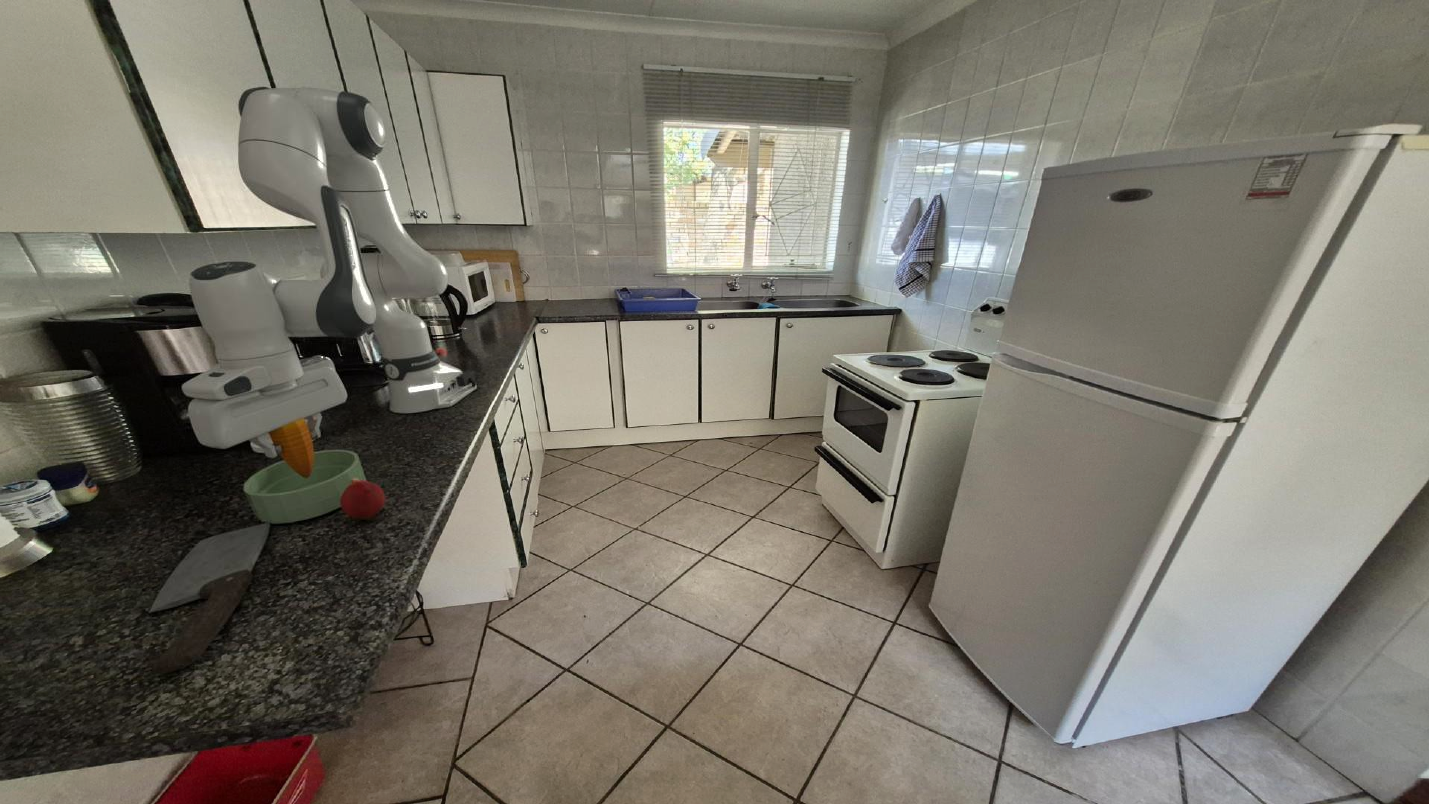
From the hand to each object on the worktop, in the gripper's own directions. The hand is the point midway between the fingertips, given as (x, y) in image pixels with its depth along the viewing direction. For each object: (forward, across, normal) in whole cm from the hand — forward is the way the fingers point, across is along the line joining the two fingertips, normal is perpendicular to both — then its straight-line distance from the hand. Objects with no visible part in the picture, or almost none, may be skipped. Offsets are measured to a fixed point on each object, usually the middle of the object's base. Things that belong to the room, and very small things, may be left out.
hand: (294, 447), depth 76 cm
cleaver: (+11, +20, +8) cm, 24 cm away
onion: (+11, +2, +14) cm, 18 cm away
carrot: (+6, 0, 0) cm, 6 cm away
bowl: (+11, 0, 0) cm, 11 cm away
